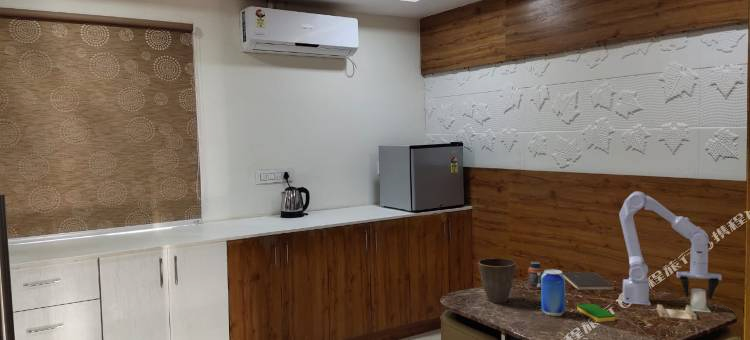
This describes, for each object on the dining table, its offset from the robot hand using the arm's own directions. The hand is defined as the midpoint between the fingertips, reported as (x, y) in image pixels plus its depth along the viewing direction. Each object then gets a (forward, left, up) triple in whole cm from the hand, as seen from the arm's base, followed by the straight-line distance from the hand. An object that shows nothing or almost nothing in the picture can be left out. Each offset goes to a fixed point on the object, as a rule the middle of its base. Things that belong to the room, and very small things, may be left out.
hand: (698, 297), depth 201 cm
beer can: (-52, -19, -5) cm, 56 cm away
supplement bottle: (-60, +14, -5) cm, 62 cm away
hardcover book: (-38, +29, -6) cm, 48 cm away
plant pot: (-74, -9, -5) cm, 75 cm away
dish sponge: (-37, -17, -6) cm, 41 cm away
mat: (0, 0, -5) cm, 5 cm away
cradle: (-9, -9, -5) cm, 14 cm away
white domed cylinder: (0, 0, -4) cm, 4 cm away
